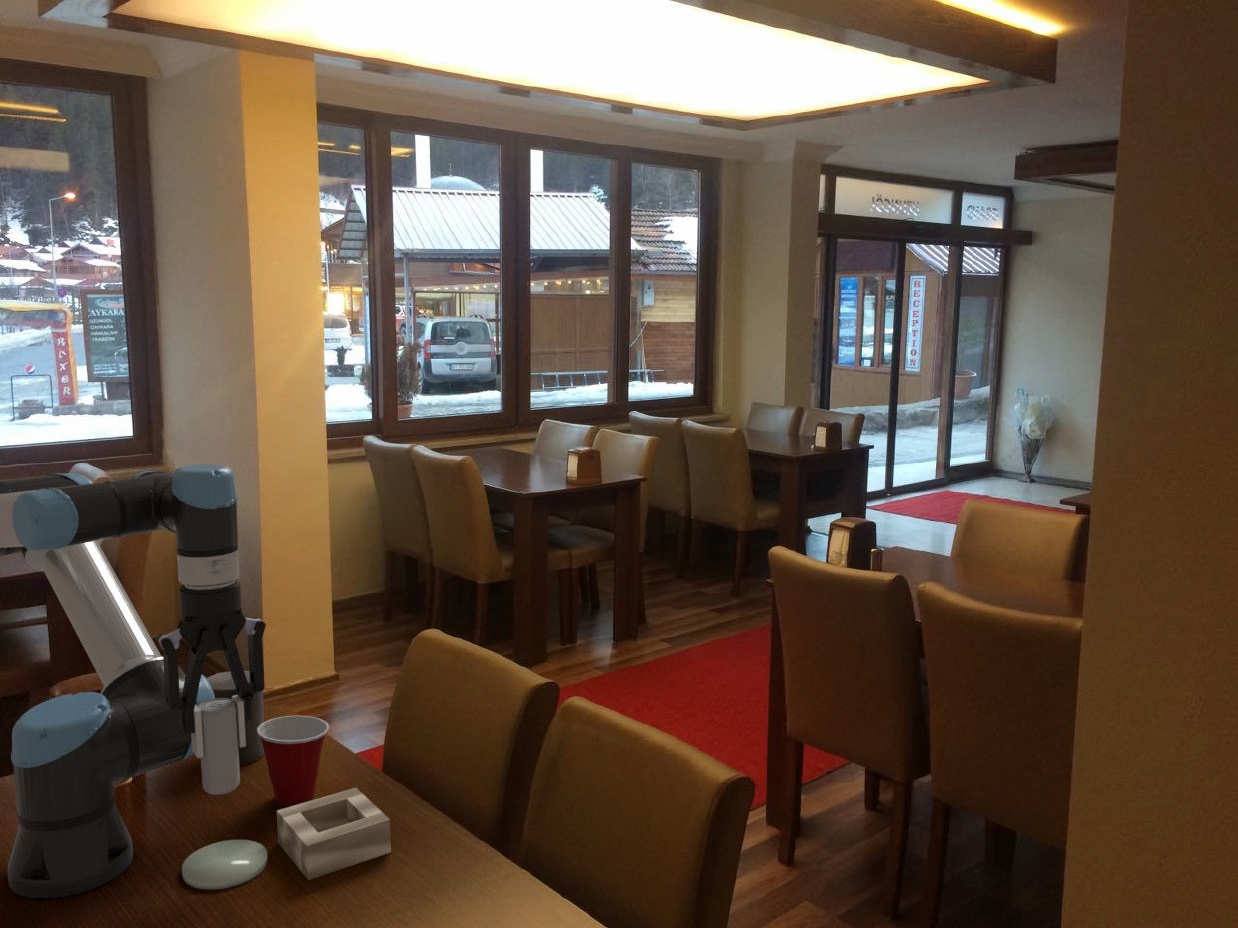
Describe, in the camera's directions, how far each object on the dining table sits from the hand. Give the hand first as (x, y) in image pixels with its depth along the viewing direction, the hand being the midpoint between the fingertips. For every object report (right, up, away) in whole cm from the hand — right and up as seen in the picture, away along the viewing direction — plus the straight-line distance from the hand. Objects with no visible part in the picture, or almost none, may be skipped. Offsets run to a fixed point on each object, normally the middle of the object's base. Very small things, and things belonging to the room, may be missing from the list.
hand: (219, 748), depth 138 cm
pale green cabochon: (0, -17, +3) cm, 17 cm away
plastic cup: (+3, -14, +23) cm, 27 cm away
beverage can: (0, -6, +1) cm, 6 cm away
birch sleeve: (+13, -16, +8) cm, 23 cm away
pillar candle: (-12, -12, +37) cm, 41 cm away
